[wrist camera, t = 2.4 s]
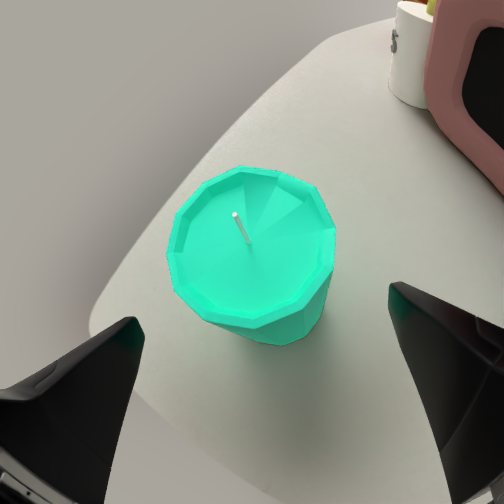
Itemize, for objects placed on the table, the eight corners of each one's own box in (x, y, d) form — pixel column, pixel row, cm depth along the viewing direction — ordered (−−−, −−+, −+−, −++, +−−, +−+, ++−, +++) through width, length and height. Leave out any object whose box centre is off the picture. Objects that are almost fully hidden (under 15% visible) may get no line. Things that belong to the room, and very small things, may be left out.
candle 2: (382, 71, 26) (389, -39, 12) (432, 81, 24) (451, -23, 11) (391, 103, 24) (406, -28, 10) (446, 114, 22) (478, -4, 8)
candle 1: (301, 360, 17) (292, 361, 6) (220, 324, 19) (110, 270, 8) (335, 276, 19) (366, 163, 8) (256, 247, 21) (200, 125, 10)
